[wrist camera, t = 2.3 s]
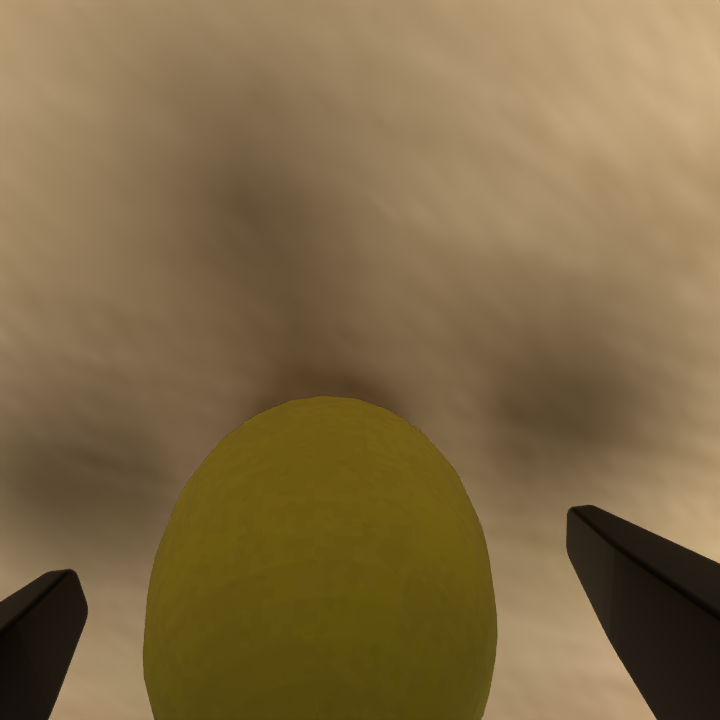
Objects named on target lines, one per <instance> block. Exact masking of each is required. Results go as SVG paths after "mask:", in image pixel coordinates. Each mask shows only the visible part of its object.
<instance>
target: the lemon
mask: <svg viewBox="0 0 720 720" xmlns="http://www.w3.org/2000/svg"><path fill="white" fill-rule="evenodd" d="M496 645H497V614H496V605H495V596H494V589H493V582H492V575H491V568H490V560H489V555H488V550H487V545H486V541H485V537H484V534H483V530H482V527H481V524H480V522H479V519H478V517H477V514H476V512H475V510H474V508H473V506H472V503H471V501H470V499H469V497H468V495H467V493H466V491H465V488H464V486H463V484H462V482H461V480H460V478H459V476H458V475H457V473H456V471H455V470H454V468H453V467H452V466H451V464H450V463H449V462H448V461H447V459H446V458H445V457H444V456H443V455H442V454H441V453H440V452H439V450H438V449H437V448H436V447H435V446H434V445H433V444H432V442H431V441H430V440H429V439H428V438H427V437H426V436H425V435H424V434H423V433H422V432H421V431H420V430H418V429H417V428H415V427H414V426H412V425H411V424H409V423H408V422H406V421H405V420H403V419H402V418H400V417H399V416H397V415H396V414H394V413H393V412H391V411H389V410H388V409H385V408H382V407H380V406H377V405H374V404H371V403H368V402H365V401H362V400H360V399H356V398H345V397H334V396H317V397H310V398H304V399H297V400H290V401H288V402H285V403H283V404H280V405H278V406H275V407H273V408H270V409H268V410H265V411H263V412H260V413H258V414H257V415H255V416H253V417H252V418H251V419H249V420H248V421H246V422H245V423H244V424H242V425H241V426H240V427H238V428H237V429H235V430H234V431H233V432H231V433H230V434H229V435H227V436H226V437H225V438H224V439H223V440H222V441H220V442H219V443H218V445H217V446H216V447H215V448H214V449H213V451H212V452H211V453H210V454H209V456H208V457H207V458H206V459H205V461H204V462H203V463H202V464H201V466H200V467H199V468H198V470H197V471H196V472H195V473H194V475H193V476H192V477H191V478H190V480H189V481H188V483H187V484H186V486H185V487H184V489H183V491H182V493H181V495H180V497H179V499H178V501H177V503H176V505H175V508H174V510H173V513H172V515H171V518H170V520H169V522H168V525H167V527H166V530H165V532H164V535H163V537H162V539H161V542H160V545H159V548H158V551H157V554H156V557H155V561H154V565H153V569H152V573H151V578H150V584H149V589H148V596H147V607H146V619H145V632H144V646H143V667H144V680H145V684H146V688H147V692H148V696H149V700H150V704H151V708H152V712H153V715H154V719H155V720H481V718H482V716H483V714H484V710H485V707H486V703H487V699H488V696H489V692H490V686H491V681H492V675H493V669H494V663H495V656H496Z"/></svg>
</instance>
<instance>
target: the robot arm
mask: <svg viewBox="0 0 720 720" xmlns="http://www.w3.org/2000/svg"><path fill="white" fill-rule="evenodd" d="M566 547H567V553H568V556H569V559H570V561H571V563H572V565H573V567H574V569H575V571H576V573H577V575H578V578H579V580H580V582H581V584H582V586H583V588H584V590H585V592H586V594H587V596H588V598H589V600H590V603H591V605H592V607H593V609H594V611H595V613H596V615H597V617H598V619H599V621H600V623H601V625H602V627H603V629H604V631H605V633H606V635H607V637H608V639H609V641H610V643H611V644H612V646H613V648H614V650H615V651H616V653H617V655H618V656H619V658H620V660H621V661H622V663H623V665H624V666H625V668H626V670H627V671H628V673H629V675H630V676H631V678H632V679H633V681H634V683H635V684H636V686H637V688H638V689H639V691H640V693H641V694H642V696H643V698H644V699H645V701H646V702H647V704H648V706H649V707H650V709H651V711H652V712H653V714H654V716H655V717H656V719H657V720H720V563H717V562H715V561H713V560H711V559H709V558H706V557H704V556H702V555H700V554H698V553H696V552H693V551H691V550H689V549H687V548H685V547H683V546H680V545H678V544H676V543H674V542H672V541H670V540H667V539H665V538H663V537H661V536H659V535H656V534H654V533H652V532H650V531H648V530H646V529H643V528H641V527H639V526H637V525H635V524H633V523H630V522H628V521H626V520H624V519H622V518H619V517H617V516H615V515H613V514H611V513H609V512H606V511H604V510H602V509H600V508H598V507H596V506H593V505H584V506H576V507H571V508H570V509H569V510H568V513H567V535H566ZM87 615H88V606H87V602H86V599H85V596H84V593H83V590H82V587H81V584H80V581H79V578H78V575H77V573H76V572H75V571H74V570H71V569H65V570H56V571H50V572H47V573H45V574H43V575H42V576H40V577H39V578H37V579H36V580H34V581H32V582H31V583H29V584H28V585H26V586H25V587H23V588H21V589H20V590H18V591H17V592H15V593H14V594H12V595H10V596H9V597H7V598H6V599H4V600H3V601H1V602H0V720H48V719H49V717H50V714H51V712H52V710H53V707H54V705H55V702H56V700H57V697H58V695H59V692H60V689H61V687H62V684H63V681H64V679H65V676H66V673H67V671H68V668H69V665H70V663H71V660H72V657H73V655H74V652H75V649H76V647H77V644H78V641H79V639H80V636H81V633H82V631H83V628H84V625H85V623H86V619H87Z"/></svg>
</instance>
